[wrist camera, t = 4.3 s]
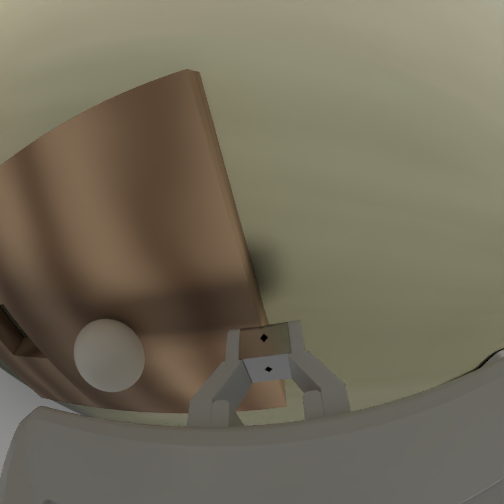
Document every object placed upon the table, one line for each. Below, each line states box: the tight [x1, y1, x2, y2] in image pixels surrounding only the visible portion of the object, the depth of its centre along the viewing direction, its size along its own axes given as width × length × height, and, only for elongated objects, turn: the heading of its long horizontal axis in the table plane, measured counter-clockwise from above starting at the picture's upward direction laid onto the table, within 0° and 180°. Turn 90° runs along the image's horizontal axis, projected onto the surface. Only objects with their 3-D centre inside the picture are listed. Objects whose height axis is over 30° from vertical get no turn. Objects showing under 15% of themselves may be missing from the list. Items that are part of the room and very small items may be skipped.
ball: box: [74, 319, 145, 392], centre depth 13 cm, size 4×4×4 cm
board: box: [0, 69, 286, 413], centre depth 16 cm, size 28×22×2 cm
